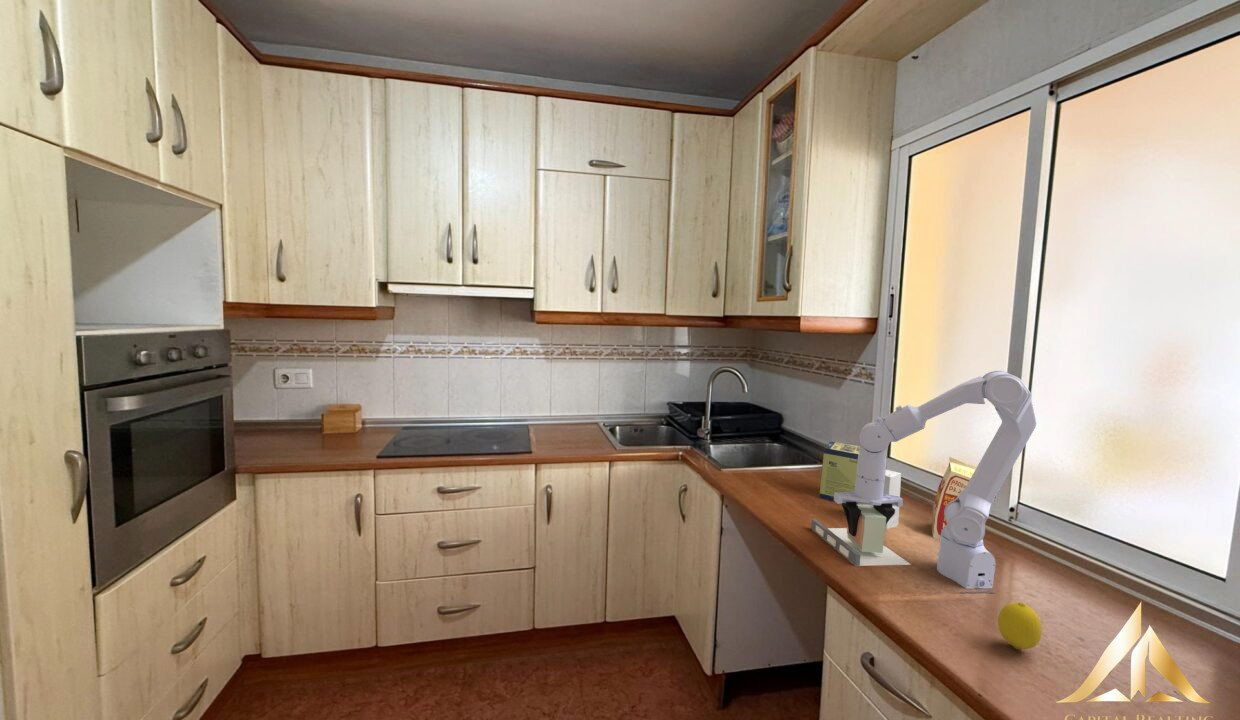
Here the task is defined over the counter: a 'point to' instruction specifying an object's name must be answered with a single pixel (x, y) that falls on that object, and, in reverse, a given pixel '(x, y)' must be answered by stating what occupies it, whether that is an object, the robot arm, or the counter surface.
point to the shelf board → (855, 548)
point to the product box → (869, 530)
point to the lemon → (1020, 625)
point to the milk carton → (949, 491)
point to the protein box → (838, 469)
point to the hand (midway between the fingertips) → (864, 535)
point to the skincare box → (892, 488)
